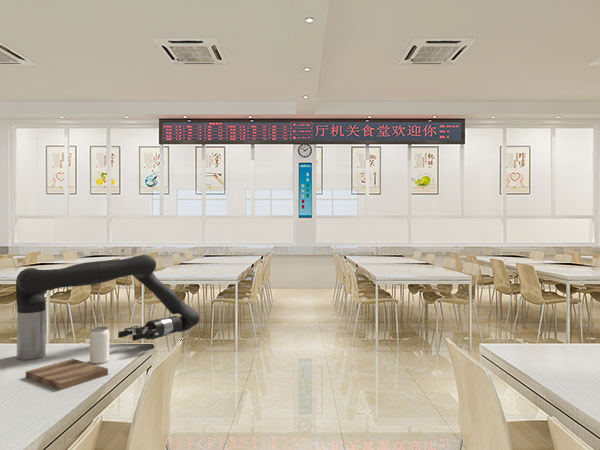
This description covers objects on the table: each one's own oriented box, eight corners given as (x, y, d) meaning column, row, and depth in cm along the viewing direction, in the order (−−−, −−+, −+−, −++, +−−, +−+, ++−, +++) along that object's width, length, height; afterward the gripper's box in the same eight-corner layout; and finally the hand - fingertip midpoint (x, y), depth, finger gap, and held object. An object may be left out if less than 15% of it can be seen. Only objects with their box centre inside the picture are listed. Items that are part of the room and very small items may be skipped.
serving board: (25, 377, 142) (25, 371, 142) (73, 364, 155) (73, 358, 155) (60, 390, 131) (60, 383, 131) (107, 374, 145) (107, 368, 145)
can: (101, 364, 155) (101, 331, 155) (85, 363, 156) (85, 330, 156) (112, 359, 161) (113, 327, 161) (97, 358, 162) (97, 326, 162)
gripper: (147, 317, 186) (114, 324, 172) (171, 321, 178) (137, 329, 164) (147, 334, 186) (114, 343, 172) (171, 339, 178) (137, 349, 164)
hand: (125, 336), depth 168 cm, fingers open, 8 cm apart
